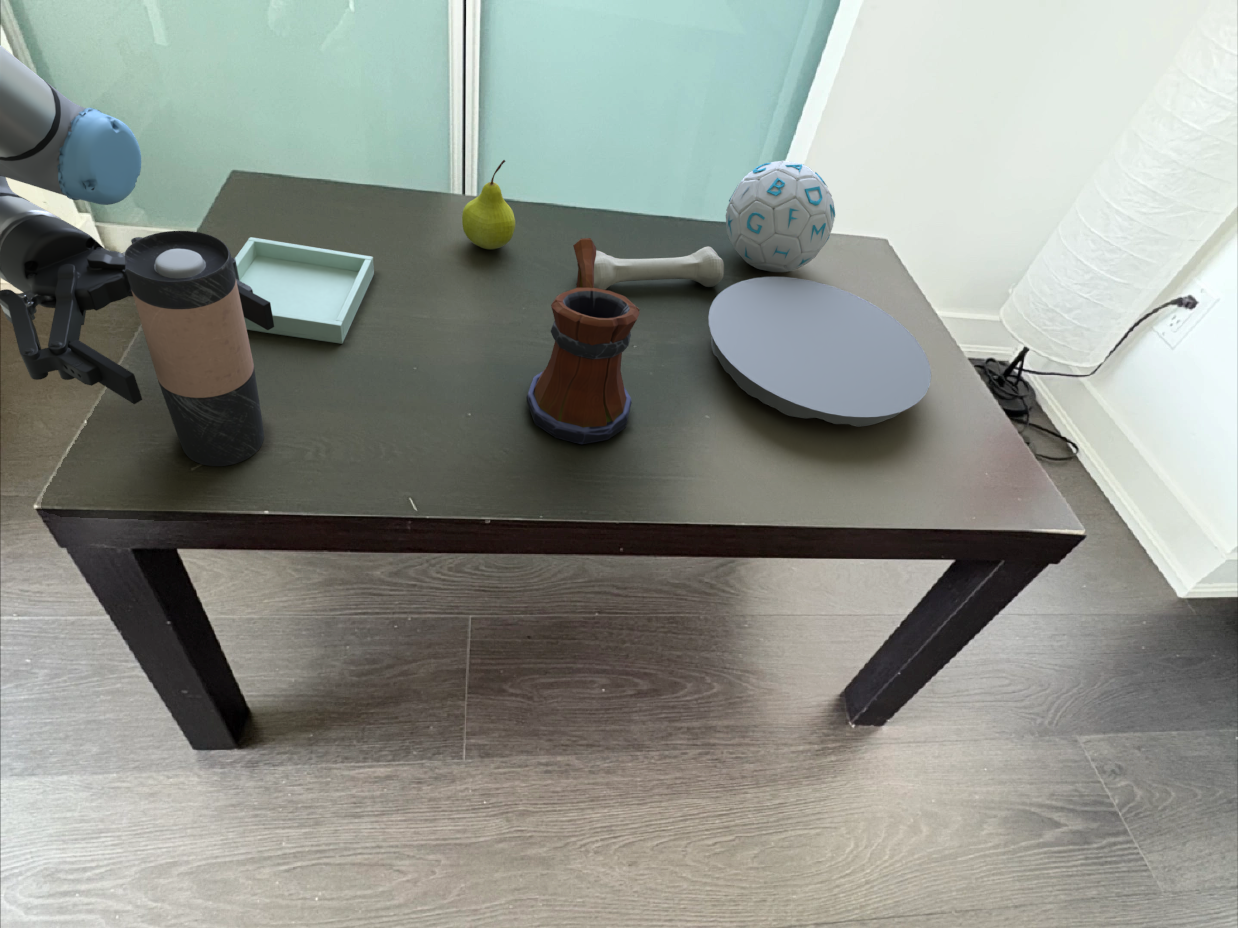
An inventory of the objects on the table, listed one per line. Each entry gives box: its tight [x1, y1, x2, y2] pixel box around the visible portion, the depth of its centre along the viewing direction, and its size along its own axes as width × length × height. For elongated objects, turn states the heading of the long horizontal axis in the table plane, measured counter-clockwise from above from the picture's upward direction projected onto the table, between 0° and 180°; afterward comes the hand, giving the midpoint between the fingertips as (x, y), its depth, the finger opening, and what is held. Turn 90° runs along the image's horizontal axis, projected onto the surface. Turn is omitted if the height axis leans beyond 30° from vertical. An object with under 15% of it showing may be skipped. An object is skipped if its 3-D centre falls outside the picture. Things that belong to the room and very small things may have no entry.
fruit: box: [461, 159, 516, 250], centre depth 103 cm, size 7×7×12 cm
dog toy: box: [594, 245, 725, 290], centre depth 106 cm, size 20×6×5 cm, turn 108°
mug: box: [526, 237, 641, 445], centre depth 84 cm, size 18×12×15 cm, turn 6°
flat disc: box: [708, 276, 932, 428], centre depth 98 cm, size 28×28×4 cm
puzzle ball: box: [725, 160, 836, 273], centre depth 112 cm, size 15×15×15 cm
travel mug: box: [124, 230, 265, 467], centre depth 68 cm, size 8×8×20 cm
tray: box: [234, 236, 375, 345], centre depth 91 cm, size 15×15×2 cm
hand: (206, 350), depth 67 cm, fingers open, 13 cm apart
